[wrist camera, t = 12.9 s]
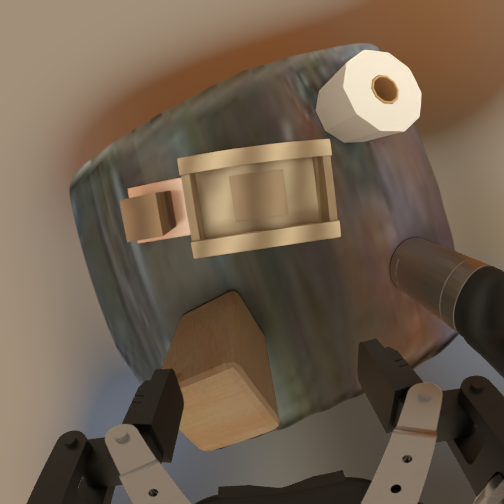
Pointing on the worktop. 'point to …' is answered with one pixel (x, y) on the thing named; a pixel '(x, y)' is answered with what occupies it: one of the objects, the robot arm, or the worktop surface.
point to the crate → (259, 197)
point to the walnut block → (148, 216)
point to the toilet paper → (369, 98)
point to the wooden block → (222, 374)
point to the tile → (178, 205)
